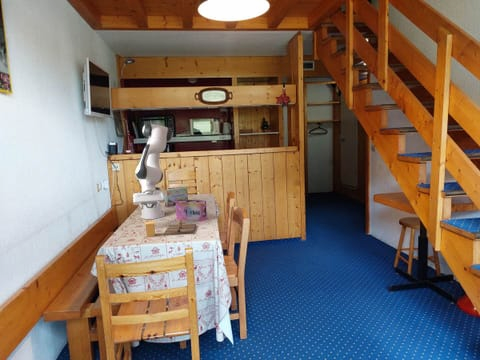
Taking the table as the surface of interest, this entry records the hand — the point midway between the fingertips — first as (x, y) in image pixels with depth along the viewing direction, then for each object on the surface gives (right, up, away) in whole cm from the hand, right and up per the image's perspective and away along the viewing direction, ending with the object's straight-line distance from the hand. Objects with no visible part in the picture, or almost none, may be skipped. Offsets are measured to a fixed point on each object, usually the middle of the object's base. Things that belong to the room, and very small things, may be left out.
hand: (149, 208), depth 210 cm
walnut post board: (+21, -14, -2) cm, 25 cm away
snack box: (+2, -4, +83) cm, 83 cm away
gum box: (+23, -10, +28) cm, 38 cm away
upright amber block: (+4, -16, -10) cm, 19 cm away
